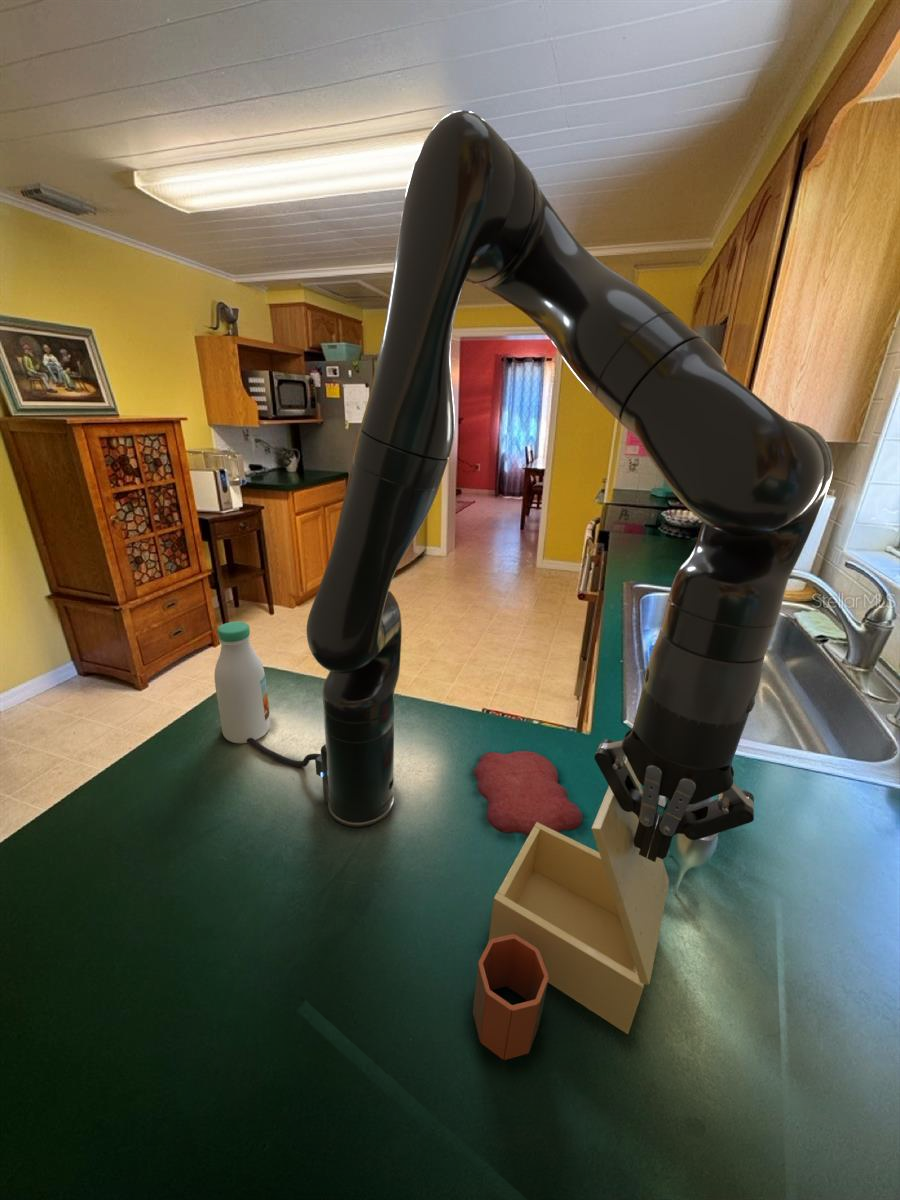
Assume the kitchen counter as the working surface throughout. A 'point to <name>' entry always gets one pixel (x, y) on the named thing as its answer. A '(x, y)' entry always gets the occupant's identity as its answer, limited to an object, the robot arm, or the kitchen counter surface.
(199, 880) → the kitchen counter surface
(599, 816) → the wooden box lid
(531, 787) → the red lobed pad
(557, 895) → the wooden box base
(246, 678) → the milk bottle
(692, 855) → the goblet set
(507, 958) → the cup
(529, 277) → the robot arm
